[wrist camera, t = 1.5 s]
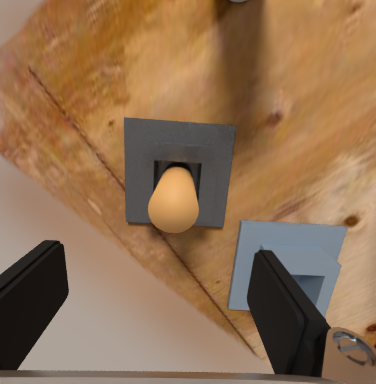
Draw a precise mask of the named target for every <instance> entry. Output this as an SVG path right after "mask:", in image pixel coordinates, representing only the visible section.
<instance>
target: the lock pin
mask: <svg viewBox="0 0 376 384" xmlns="http://www.w3.org/2000/svg"><path fill="white" fill-rule="evenodd" d="M198 213H199V206H198V201H197V196H196V191H195V187H194V182H193V177H192V173H191V170H190V169H189V167H188V166H187V165H185V164H183V163H179V162H176V163H172V164H170V165H169V166H168V167H167V168H166V169H165V171H164V173H163V175H162V177H161V179H160V181H159V183H158V185H157V187H156V189H155V191H154V193H153V195H152V197H151V199H150V201H149V205H148V214H149V217H150V219H151V221H152V223H153V224H154V225H155V226H156V227H157V228H159V229H160V230H162V231H164V232H168V233H180V232H183V231H185V230H187V229H189V228H190V227H191V226H192V225H193V224H194V223H195V221H196V220H197V217H198Z"/></svg>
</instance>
